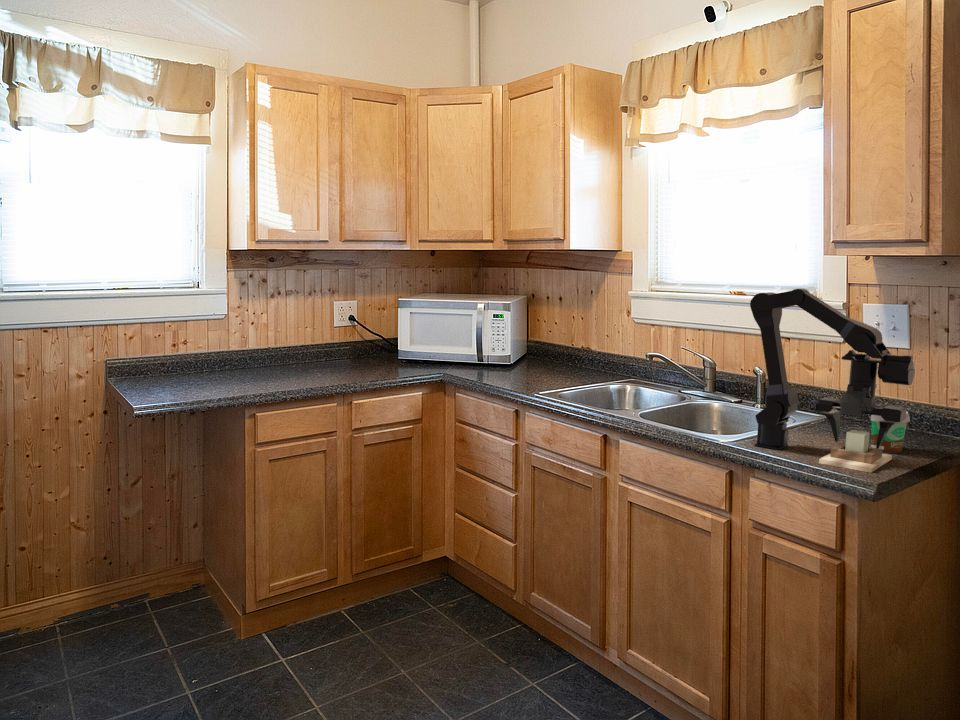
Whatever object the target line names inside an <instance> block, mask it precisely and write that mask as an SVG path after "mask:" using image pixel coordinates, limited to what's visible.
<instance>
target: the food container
mask: <svg viewBox="0 0 960 720" xmlns="http://www.w3.org/2000/svg"><path fill="white" fill-rule="evenodd" d="M881 420H883V418H882V417H881V416H877V415H870V420H869V421H871V432H870V433H871V435H870V447H873V448H876V446H877V438H878V433H879V428H880V424H879V421H881ZM909 422H911V417H910V414H909V411H907V410H906V419H905V420H903V421H901V422H898V423H896V424H894V425H892V426H891V428H890V429H889V431H888V432H887V434H886V436H885V438H884V440H883V442H882V444H881V446H880V447H879V448H880V449H882V454H899V453H900V454H901V453H902V451H903V447H904V439H905V435H906V434H905V433H906V429H907V424H908V423H909Z"/></svg>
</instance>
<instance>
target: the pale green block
mask: <svg viewBox="0 0 960 720" xmlns="http://www.w3.org/2000/svg"><path fill="white" fill-rule="evenodd" d="M870 433H871V432H869V431H862V430H855V429H851V430H848V431H847V432H846V437H845V443H846V447H845V450H850V451H856V452H862V453H868V447H870V445H869V443H870Z"/></svg>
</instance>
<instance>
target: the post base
mask: <svg viewBox="0 0 960 720" xmlns="http://www.w3.org/2000/svg"><path fill="white" fill-rule="evenodd" d="M845 447H846V442H842V443H839V444H838V445H835V446H834V447H832V448H830V452H829V453H828V454H826V455H824V456H822V457H821V458H819V460H818V464H821V465H822V464H823V465H826V466H827V465H828V466H834V467H839V468H843V469H844V468H845V469H848V470H849V469H850V470H856V471H861V472H866V473H871V474H872V473H873V472H875V471H876V470H877V469H879V468H880V467H883V465H885V464H887V463H888V462H889V461H891V460H892V459H893V455H892V454H889V453H882V449H880V448H873V447H871V446H868V453H862V452H856V451H850V450H845Z"/></svg>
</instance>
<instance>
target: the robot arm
mask: <svg viewBox="0 0 960 720" xmlns="http://www.w3.org/2000/svg"><path fill="white" fill-rule="evenodd" d="M749 303H750V304H749V306H750V310H751V313H752V316H753V319H754V321H755V322H756V324H757V326H758V328H759V330H760V336H761V341H762V348H763V356H764V363H765V371H766V376H767V389H766V394H765V407H764V408H763V409H762V410H760V411H759V412H758V413H756V414H755V415H754V417H755V421H756V423H757V435H756V442H755V443H754V444H753V445H754V446H756V447H761V448H767V449H772V450H782V449H784V448H786V447H788V446H789V444H788V440H789V429H787V426H788V423H786V422H788V421H789V419H790V417H791V416H793V415H794V414H795V413H796V412H797V410H798V405H799V404H800V403H801V401H800V400H799V396H798V387H793V388H792V387H791V385H790V384H789V381H788V377H787V371H786V364H785V363H786V362H785V356H784V349H783V343H782V337H781V329H780V325H781V320H782V317H783V316H782V315H783V309H786V308H791V307H794V306H796V307H799V308H800V309H802V310H803V311H805V312H807V314H809V315H811V316H813V318H815V319H817V320H819V321H820V322H822V323H823V324H825V325H826V326H828V327H829V328H831V329H832V330H834V331H835V332H836V333H837V334H839V336H840V337H841V339H842V340H843V341H844V342H845V343H846V344H847V345H848V346H849V347H850V348H851V349H850V350H848V352H847V353H846V354H844V355H842V356H841V360H843V361H850V368H849V377H848V378H849V379H848V384H847V387H846V392H845V393H844V394H843V396H842V397H841V398H835V397H834V398H833V397H826V396H825V397H823V398H822V397H821V398H819V399H818V400H817V401H816V403H815V411H816V412H820V414H821V415H822V416H824V417H825V418H826V419H827V420H828V423H829V425H830V428H831V432H832V434H833V438H834V441H835V442H836V443H838V442H839V440H840V433H841V432H840V431H841V414H843V415H852V416H854V417H861V416H863V414H865V415H870V416H871V415H877V416H881V417H882V418H883V420H881V421H879V424H880V428H879V433H878V438H877V446H876V448H879V447H880V446H881V444H882V442H883V440H884V438H885V436H886V434H887V432H888V431H889V429H890V428H891V426H892V425H894V424H896V423H898V422H901V421H903V420H905V419H906V411H907V409H906V408H905V407H903V406H896V405H888V404H887V405H885V406H883V407H875V406H876V400H875V398H876V396H875V395H876V389H877V387H878V386H877V385H878V384H877V378H878V379H879V380H881V381H882V383H884V384H885V383H886V384H894V385H900V386H902V385H903V386H912V384H913V382H914V376H915V364H914V361H913V359H914V356H913V355H910V354H906V355H899V354H892V353H891V352H890V351H889V349H888V348H887V347H886V344H885V343H884V342H883V334H882V332H881V331H880V330H879V329H878V328H877V327H875V326H872V325H869V324H867V323H864V322H862V321H858V320H855V319H852V318H850V317H849V316H847V315H845V314H844V313H842V312H840V311H839V310H838V309H836V308H835V307H833V306H831V305H829V304H828V303H826V302H825V301H823V300H822V299H820V298H819V297H817V296H815V295H814V294H813V293H811V292H810V291H809V290H808V289H807V288H794V289H793V290H788V291H782V292H777V293H775V292H759V293H756V294H755V295H753V297H752V298H751V299H750V302H749Z"/></svg>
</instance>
